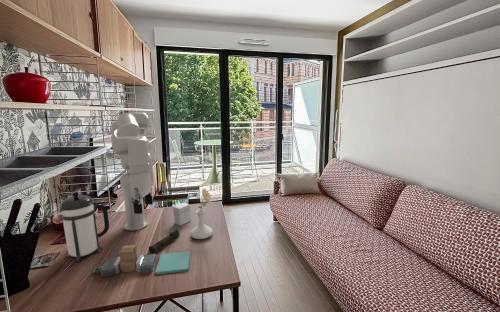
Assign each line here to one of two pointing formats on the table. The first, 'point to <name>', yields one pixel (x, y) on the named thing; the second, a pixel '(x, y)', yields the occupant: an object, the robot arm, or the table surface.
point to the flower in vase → (202, 229)
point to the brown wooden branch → (164, 241)
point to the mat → (173, 262)
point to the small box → (182, 213)
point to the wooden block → (128, 258)
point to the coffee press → (81, 225)
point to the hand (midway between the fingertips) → (144, 208)
